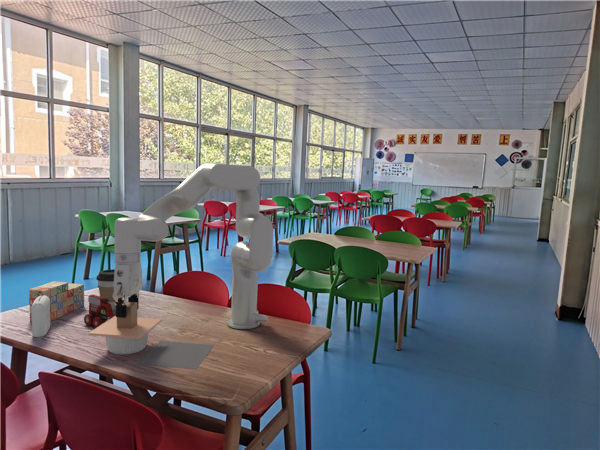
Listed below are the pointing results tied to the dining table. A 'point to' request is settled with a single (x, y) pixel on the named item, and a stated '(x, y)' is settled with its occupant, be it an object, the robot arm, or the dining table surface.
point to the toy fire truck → (98, 311)
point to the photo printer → (40, 316)
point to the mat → (176, 355)
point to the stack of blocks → (59, 297)
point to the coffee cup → (107, 285)
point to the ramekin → (126, 344)
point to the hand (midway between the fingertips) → (127, 312)
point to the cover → (126, 325)
